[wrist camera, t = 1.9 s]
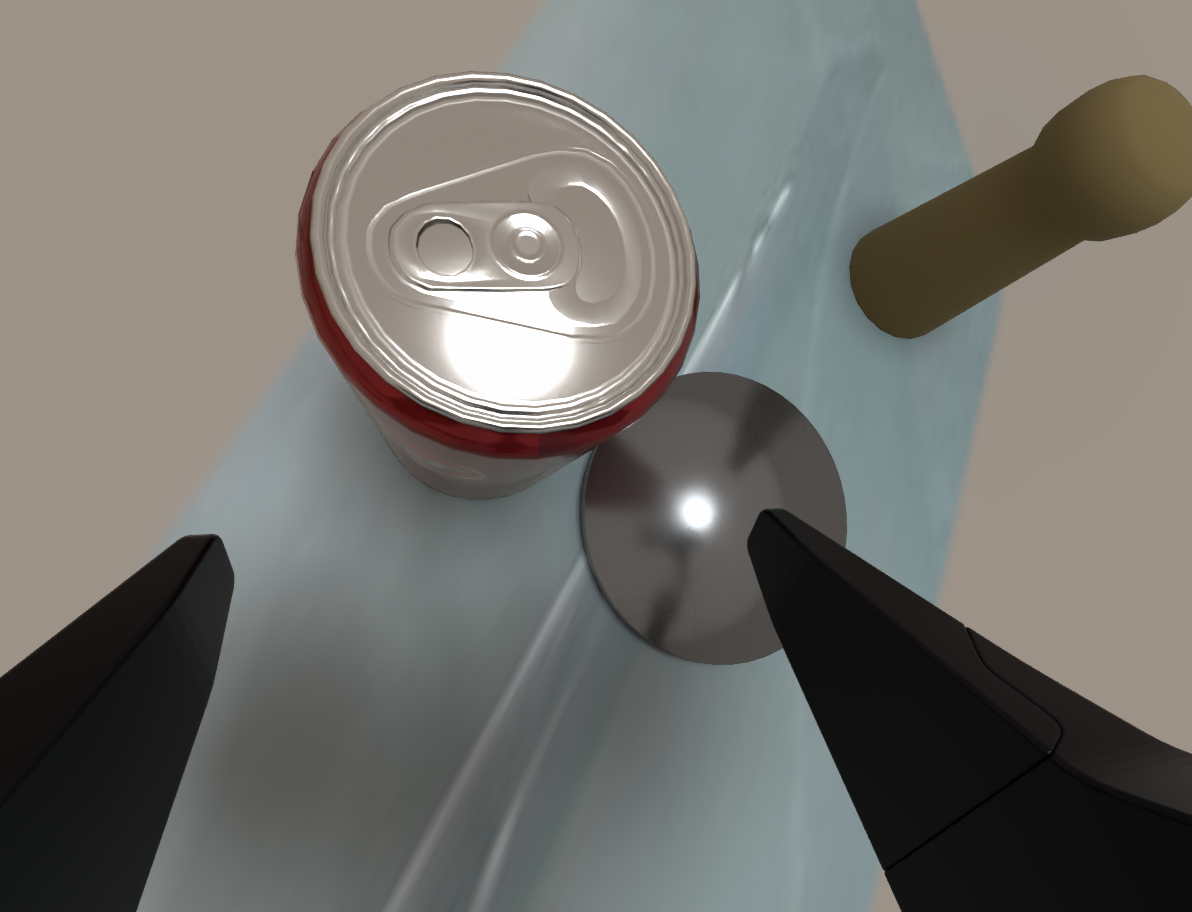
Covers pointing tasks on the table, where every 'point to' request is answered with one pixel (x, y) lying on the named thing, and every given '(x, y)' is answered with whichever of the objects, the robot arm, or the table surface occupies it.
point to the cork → (1032, 207)
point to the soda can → (496, 277)
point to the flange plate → (702, 512)
